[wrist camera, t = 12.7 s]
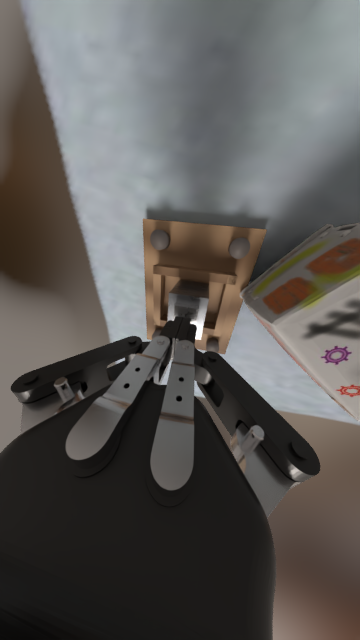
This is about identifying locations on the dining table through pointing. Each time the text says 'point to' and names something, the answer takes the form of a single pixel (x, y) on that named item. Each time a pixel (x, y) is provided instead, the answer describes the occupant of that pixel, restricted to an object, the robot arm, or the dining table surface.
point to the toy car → (317, 309)
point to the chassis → (199, 272)
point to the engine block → (189, 303)
